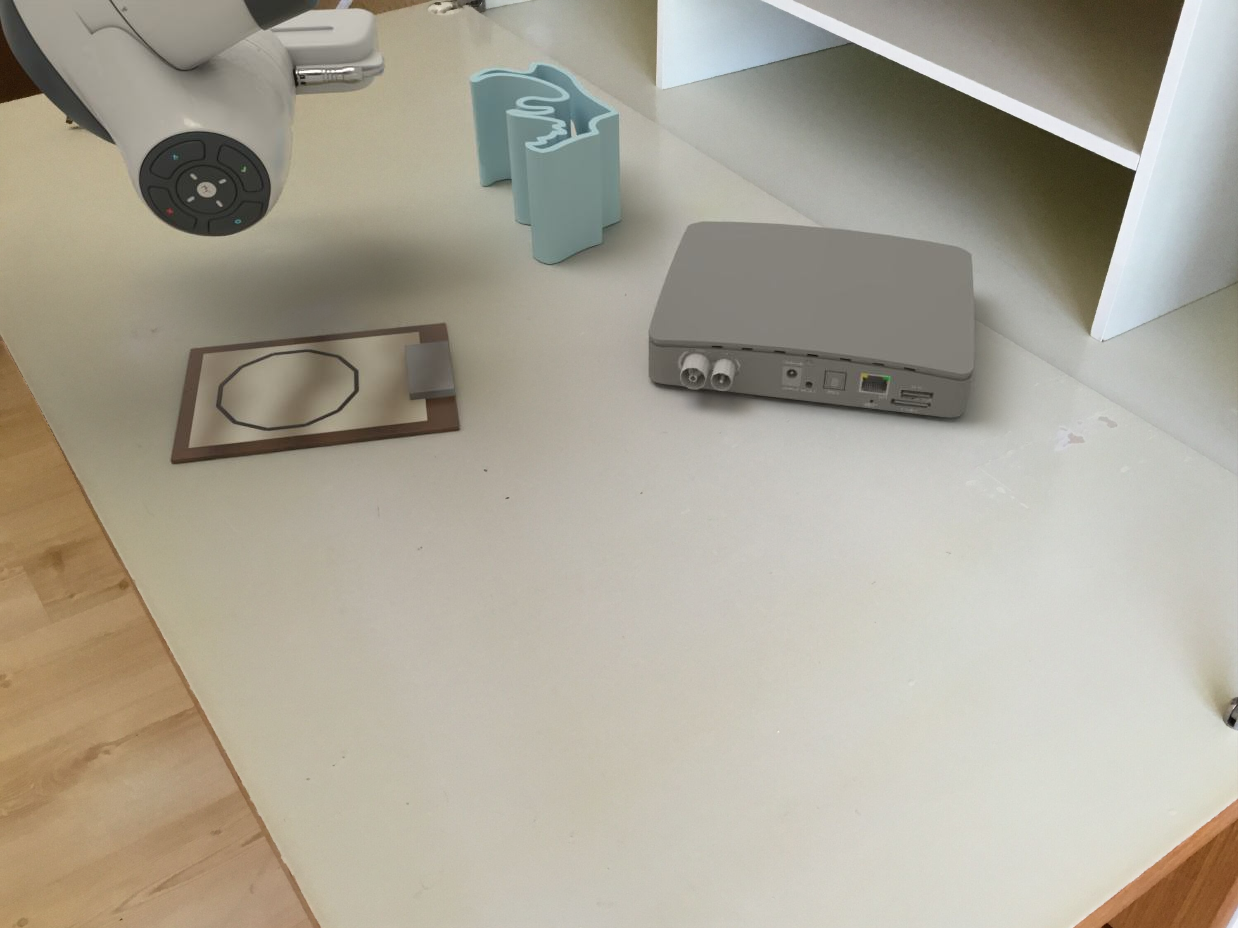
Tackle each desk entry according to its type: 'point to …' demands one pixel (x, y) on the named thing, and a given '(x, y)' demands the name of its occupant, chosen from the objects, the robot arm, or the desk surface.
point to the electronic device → (817, 317)
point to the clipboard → (315, 392)
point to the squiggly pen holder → (549, 154)
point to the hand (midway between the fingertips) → (239, 15)
